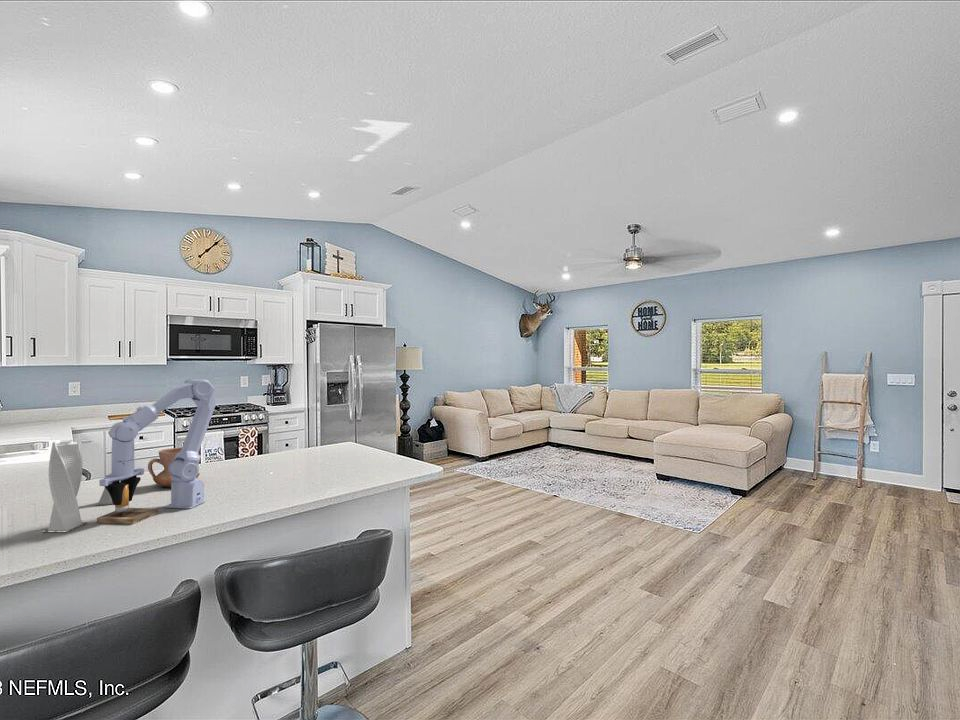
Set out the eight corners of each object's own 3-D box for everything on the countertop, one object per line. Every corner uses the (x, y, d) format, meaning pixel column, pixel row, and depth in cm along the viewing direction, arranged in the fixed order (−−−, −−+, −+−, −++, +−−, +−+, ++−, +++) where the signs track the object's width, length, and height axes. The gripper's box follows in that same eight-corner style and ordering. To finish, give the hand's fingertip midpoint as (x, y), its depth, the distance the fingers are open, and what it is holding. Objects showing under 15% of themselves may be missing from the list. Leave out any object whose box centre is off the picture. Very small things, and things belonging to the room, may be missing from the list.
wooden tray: (158, 513, 151) (158, 508, 151) (132, 524, 141) (132, 519, 141) (123, 512, 152) (123, 507, 152) (96, 522, 142) (96, 518, 142)
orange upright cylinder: (131, 508, 147) (131, 484, 147) (121, 512, 144) (122, 486, 144) (122, 508, 148) (122, 483, 148) (112, 511, 144) (112, 486, 144)
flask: (93, 506, 158) (93, 477, 158) (104, 500, 165) (104, 472, 165) (117, 504, 160) (118, 476, 160) (127, 498, 167) (128, 471, 167)
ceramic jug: (203, 478, 195) (203, 444, 195) (199, 487, 182) (199, 451, 182) (151, 482, 187) (152, 448, 187) (143, 492, 174) (144, 455, 174)
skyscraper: (91, 523, 141) (92, 433, 141) (69, 533, 133) (69, 437, 133) (63, 523, 141) (64, 432, 141) (39, 533, 133) (39, 437, 133)
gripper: (130, 454, 153) (129, 495, 153) (90, 464, 139) (89, 509, 139) (150, 455, 153) (149, 496, 153) (112, 465, 138) (111, 510, 138)
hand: (122, 502), depth 146 cm, fingers closed on orange upright cylinder, 3 cm apart
